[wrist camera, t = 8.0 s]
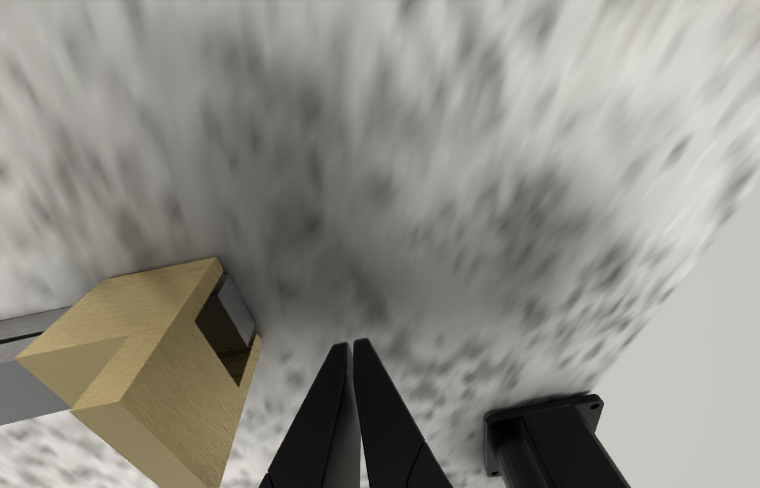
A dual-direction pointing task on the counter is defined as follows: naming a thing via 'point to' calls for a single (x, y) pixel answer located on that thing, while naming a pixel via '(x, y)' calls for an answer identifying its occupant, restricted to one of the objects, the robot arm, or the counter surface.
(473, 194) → the counter surface
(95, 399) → the collar
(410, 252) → the counter surface
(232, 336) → the tong base
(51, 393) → the upper tong arm
